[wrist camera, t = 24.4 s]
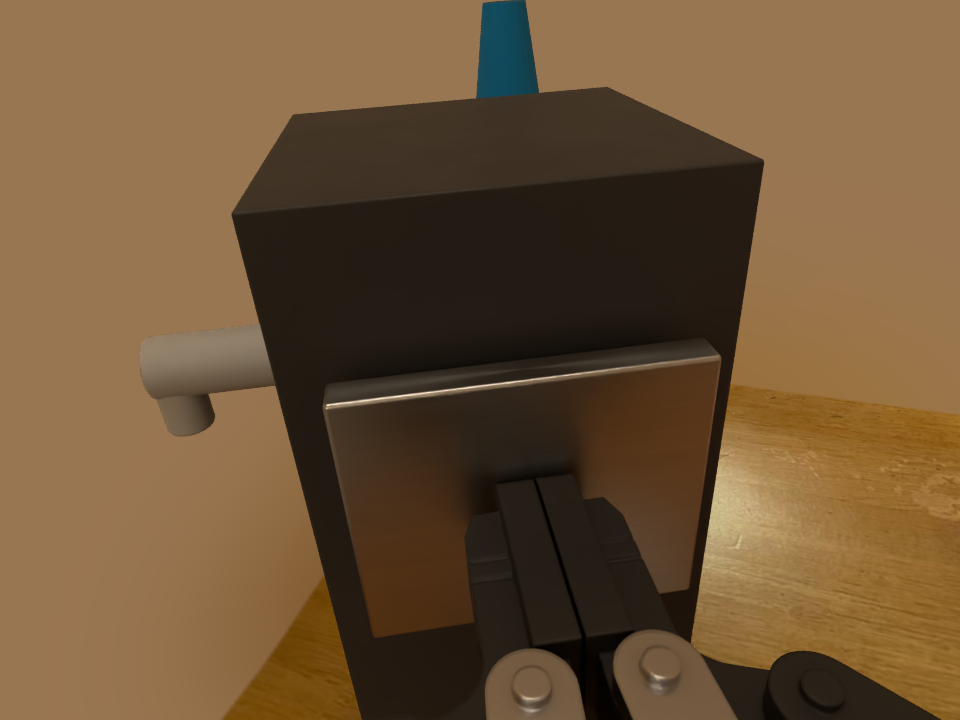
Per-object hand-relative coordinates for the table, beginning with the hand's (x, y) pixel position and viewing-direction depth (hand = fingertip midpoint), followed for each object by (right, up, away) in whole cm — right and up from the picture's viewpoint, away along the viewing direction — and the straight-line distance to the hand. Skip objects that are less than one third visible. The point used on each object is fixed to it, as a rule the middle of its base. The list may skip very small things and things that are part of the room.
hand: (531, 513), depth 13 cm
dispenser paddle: (0, -2, +2) cm, 3 cm away
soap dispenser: (-2, -15, +15) cm, 21 cm away
